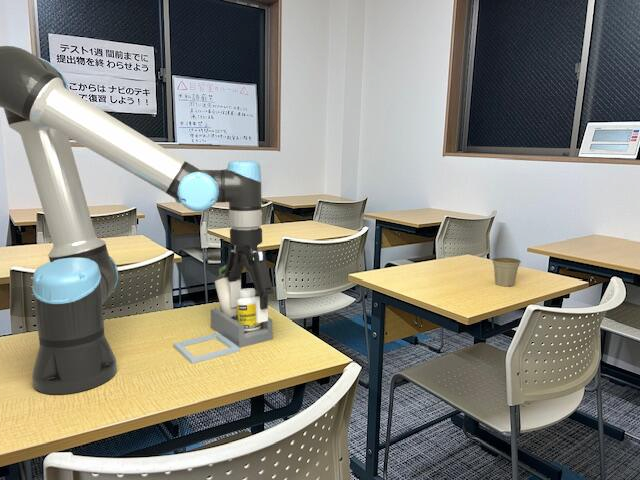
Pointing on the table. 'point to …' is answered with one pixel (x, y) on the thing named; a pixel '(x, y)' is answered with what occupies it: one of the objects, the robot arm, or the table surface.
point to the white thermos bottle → (225, 296)
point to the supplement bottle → (247, 309)
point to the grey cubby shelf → (240, 329)
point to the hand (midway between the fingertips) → (248, 313)
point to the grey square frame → (194, 359)
